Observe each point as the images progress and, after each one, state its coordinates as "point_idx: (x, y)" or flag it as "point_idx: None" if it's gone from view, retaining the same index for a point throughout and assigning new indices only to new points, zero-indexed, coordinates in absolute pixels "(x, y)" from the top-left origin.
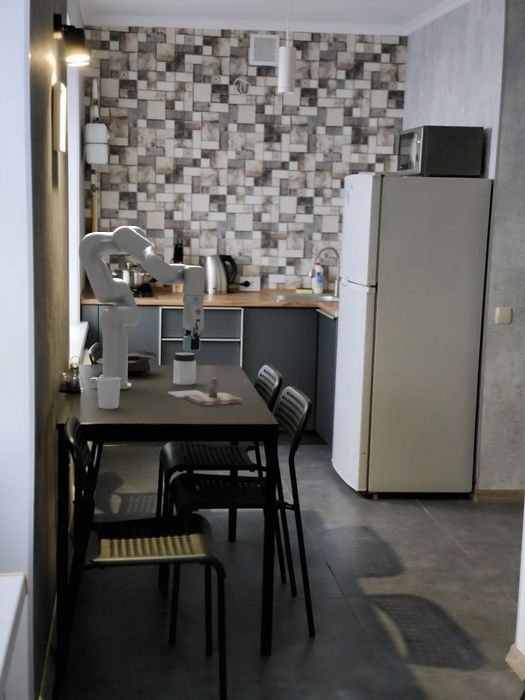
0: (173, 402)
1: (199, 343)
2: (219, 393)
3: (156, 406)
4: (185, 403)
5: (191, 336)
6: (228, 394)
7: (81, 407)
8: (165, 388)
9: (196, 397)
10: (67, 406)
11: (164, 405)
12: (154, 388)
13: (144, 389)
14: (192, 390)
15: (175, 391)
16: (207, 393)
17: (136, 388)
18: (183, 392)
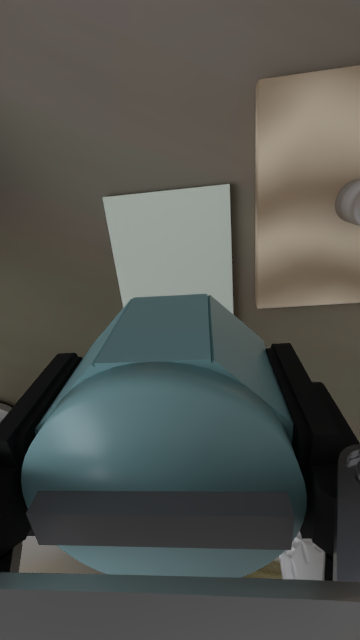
0: (308, 362)
1: (239, 353)
2: (284, 129)
3: (350, 427)
4: (346, 330)
5: (202, 531)
6: (333, 82)
7: (278, 559)
8: (18, 302)
9: (338, 284)
10: (255, 574)
11: (346, 402)
12: (18, 340)
13: (38, 375)
14: (109, 222)
15: (124, 301)
16: (263, 198)
17: (19, 392)
18: (152, 277)
